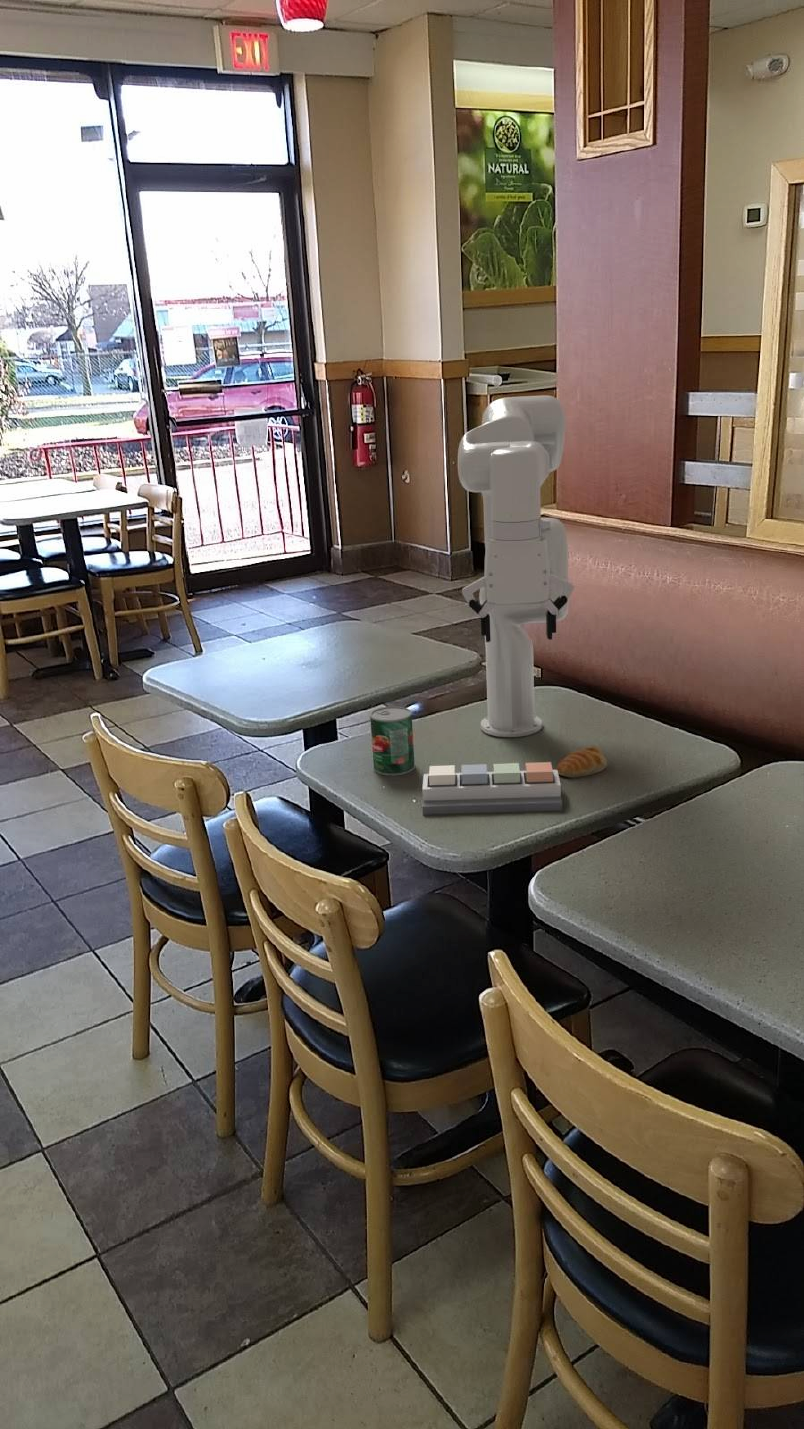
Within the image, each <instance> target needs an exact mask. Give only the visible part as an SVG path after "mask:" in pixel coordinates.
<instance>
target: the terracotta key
mask: <svg viewBox="0 0 804 1429" xmlns="http://www.w3.org/2000/svg"><path fill="white" fill-rule="evenodd" d="M553 770H554V769H553V765H552V761H545V762H541V761H540V762H525V771H526V777H527V782H548V781H553Z"/></svg>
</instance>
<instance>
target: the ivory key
mask: <svg viewBox="0 0 804 1429" xmlns="http://www.w3.org/2000/svg"><path fill="white" fill-rule="evenodd" d="M455 773H456V765H451V764H450V765H430V766H429V772H428V774H429V785H453V784H455Z"/></svg>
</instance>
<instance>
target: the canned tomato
mask: <svg viewBox="0 0 804 1429" xmlns="http://www.w3.org/2000/svg"><path fill="white" fill-rule="evenodd" d="M412 714H413V713H412V710H411V709H409V708H407V707H403V706H384V707H379V708H376V709H374V710H372V711H371V712H370V713H369V719H370V733H371V746H372V747H371V748H372V760H373V761H372V762H373V770H374V772H375V773H376V772H377V773H376V774H378V773H379V774H378V775H381V774H382V776H390V775H391V776H401V775H406V774H408V773H410V772H412V771H413V770H415V768H416V764H415V749H414V746H415V744H414V733H413V729H414V728H413V718H412Z"/></svg>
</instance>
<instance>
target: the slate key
mask: <svg viewBox="0 0 804 1429" xmlns="http://www.w3.org/2000/svg"><path fill="white" fill-rule="evenodd" d="M487 766H488V764H485V763H480V764H478V763H477V764H461V773H462V784H485V783H487V772H488V767H487Z"/></svg>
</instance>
